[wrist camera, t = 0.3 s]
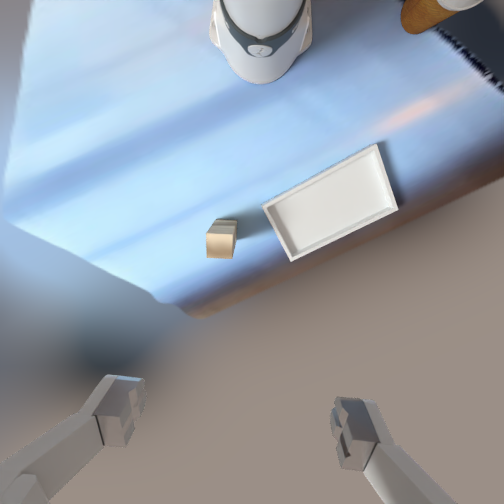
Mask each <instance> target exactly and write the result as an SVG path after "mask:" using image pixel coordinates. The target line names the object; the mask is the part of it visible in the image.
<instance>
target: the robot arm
mask: <svg viewBox="0 0 504 504" xmlns="http://www.w3.org/2000/svg"><path fill="white" fill-rule="evenodd" d="M215 26H216V28H215ZM306 32H307V34H306ZM209 36H210V40H211V42H212V43H213V44H214V45H215V46H216V47H217V48H218V49H219V50H221V51H222V53H223V54H224V56H225V58H226V60H227V61H228V63H229V65H230V67H231V68H232V69H233V71H234V72H235V73H236V74H237V75H238V76H239V77H241V78H242V79H244V80H246V81H248V82H250V83H255V84H266V83H270V82H272V81H275V80H277V79H278V78H280V77H281V76H282V75H283V74H284V73H285V72H286V71H287V70H288V69H289V68H290V66H291V65H292V63H293V62H294V60H295V59H296V57H297V56H298V55H300V54H301V53H303V52H304V51H305V50H307V49H308V48H309V47H310V45H311V42H312V18H311V0H214V2H213V8H212V15H211V22H210V29H209ZM144 385H145V382H144V379H142V378H134V377H125V376H117V375H106V376H105V377H104V378H103V379H102V380H101V382H100V383H99V384H98V386H97V387H96V388H95V390H94V391H93V393H92V394H91V396H90V397H89V398H88V400H87V401H86V402H85V404H84V405H83V407H82V408H81V409H80V411H79V412H78V413H77V414H72V415H71V416H69V417H68V418H66V419H65V420H63V421H62V422H60V423H59V424H57V425H56V426H54V427H53V428H51V429H50V430H49V431H47V432H46V433H44V434H43V435H41V436H40V437H38V438H37V439H35V440H34V441H32V442H31V443H29V444H28V445H26V446H25V447H24V448H22V449H21V450H19V451H18V452H16V453H15V454H13V455H12V456H10V457H9V458H7V459H6V460H4V461H3V462H1V463H0V504H50V502H49V500H50V499H51V498H52V497H53V496H54V495H55V494H56V493H57V492H58V491H59V490H60V489H61V488H63V487H64V485H66V483H68V482H69V481H70V480H71V479H72V478H73V477H74V476H75V475H76V474H77V473H78V472H79V471H80V470H81V469H82V468H83V467H84V466H85V465H86V464H87V463H88V462H89V461H90V460H91V459H93V458H94V456H96V455H97V454H98V453H99V452H100V451H101V450H102V449H103V448H104V446H110V447H126V446H127V444H128V442H129V440H130V438H131V436H132V434H133V432H134V429H135V427H134V422H135V421H136V420H137V419H138V418H140V417H141V414H142V412H143V410H144V407H145V403H146V397H147V396H146V391H145V390H144V389H143V387H144ZM334 404H335V408H333V409H332V411H331V415H330V424H331V430H332V434H333V437H334V438H335V439H336V440H337V441H338V444H337V447H336V451H337V455H338V458H339V462H340V466H341V469H347V470H355V471H362V472H364V475H365V476H366V478H367V479H368V480H369V482H370V483H371V485H372V486H373V488H374V489H375V491H376V492H377V493H378V495H379V496H380V498H381V499H382V501H383V502H384V503H385V504H457V503H456V502H455V501H454V500H453V499H452V498H451V497H450V496H449V495H448V494H447V493H446V492H445V491H444V490H443V489H442V488H441V487H440V486H439V485H438V484H437V483H436V482H435V481H434V480H433V479H432V478H431V477H430V476H429V475H428V474H427V473H426V472H425V471H424V470H423V469H422V468H421V466H420V465H419V464H417V463H416V461H414V459H413V458H411V456H410V455H409V454H407V452H406V451H405V450H404V449H403V448H402V447H401V446H400V445H395V442H394V440H393V438H392V436H391V434H390V432H389V429H388V427H387V425H386V423H385V421H384V419H383V417H382V414H381V412H380V410H379V408H378V406H377V404H376V402H375V401H374V400H367V399H359V398H346V397H336V398H335V401H334Z"/></svg>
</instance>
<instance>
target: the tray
mask: <svg viewBox="0 0 504 504" xmlns="http://www.w3.org/2000/svg"><path fill="white" fill-rule="evenodd" d="M261 206H262V208H263V210H264V212H265V214H266V216H267V218H268V219H269V221H270V223H271V225H272V227H273V229H274V231H275V233H276V235H277V236H278V238H279V240H280V242H281V244H282V246H283V248H284V250H285V252H286V253H287V255H288V257H289V259H290V261H293V260H295V259H297V258H299V257H301V256H304V255H306V254H308V253H310V252H312V251H314V250H316V249H318V248H320V247H322V246H324V245H326V244H328V243H330V242H332V241H335V240H337V239H339V238H341V237H343V236H345V235H347V234H349V233H351V232H353V231H355V230H357V229H359V228H361V227H363V226H366V225H368V224H370V223H372V222H374V221H376V220H378V219H380V218H382V217H384V216H386V215H388V214H390V213H392V212H394V211H397V210H398V207H397V204H396V201H395V198H394V195H393V192H392V189H391V186H390V183H389V180H388V177H387V174H386V171H385V168H384V165H383V162H382V159H381V156H380V152H379V149H378V146H377V144H372V145H369V146H367V147H365V148H363V149H361V150H359V151H358V152H356V153H354V154H352V155H350V156H348V157H347V158H345V159H343V160H341V161H339V162H337V163H336V164H334V165H332V166H330V167H328V168H326V169H325V170H323V171H321V172H319V173H317V174H315V175H314V176H312V177H310V178H308V179H306V180H304V181H303V182H301V183H299V184H297V185H295V186H293V187H292V188H290V189H288V190H286V191H284V192H282V193H281V194H279V195H277V196H275V197H273V198H271V199H270V200H268V201H266V202H264V203H262V204H261Z"/></svg>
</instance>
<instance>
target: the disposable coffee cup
mask: <svg viewBox="0 0 504 504" xmlns="http://www.w3.org/2000/svg"><path fill="white" fill-rule="evenodd" d="M481 1H483V0H406V1H405V3H404V5H403V8H402V11H401V23H402V26H403V28H404V29H405V30H406V31H407V32H408V33H410V34H419V33H422V32H424V31H425V30H427V29H429V28H431V27H432V26H434V25H436V24H438V23H440V22H441V21H443V20H445V19H447V18H449V17H450V16H452V15H454V14H456V13H458V12H459V11H461V10H466V9H469V8H471V7H474V6H475V5H477V4H479V3H480V2H481Z"/></svg>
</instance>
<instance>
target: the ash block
mask: <svg viewBox="0 0 504 504" xmlns="http://www.w3.org/2000/svg"><path fill="white" fill-rule="evenodd" d="M236 240H237V220H221V219H216V220H215V221H214V223H213V224H212V226H211V227H210V229H209V230H208V231H207V233H206V245H207V258H224V259H232V257H233V253H234V249H235V245H236Z"/></svg>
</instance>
